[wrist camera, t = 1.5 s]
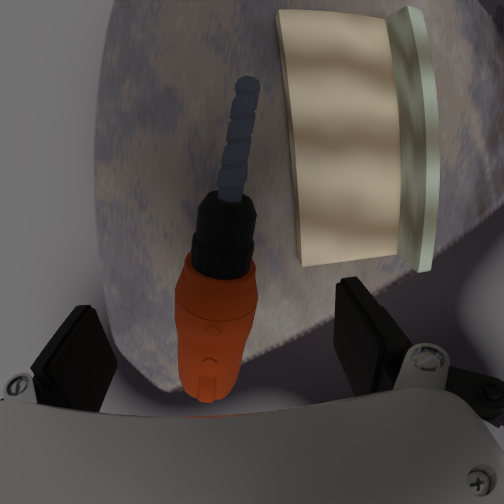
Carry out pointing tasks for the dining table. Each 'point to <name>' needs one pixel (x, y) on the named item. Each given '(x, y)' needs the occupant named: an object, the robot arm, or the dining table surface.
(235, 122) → the toy drill
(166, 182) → the dining table surface
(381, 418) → the robot arm
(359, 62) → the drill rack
